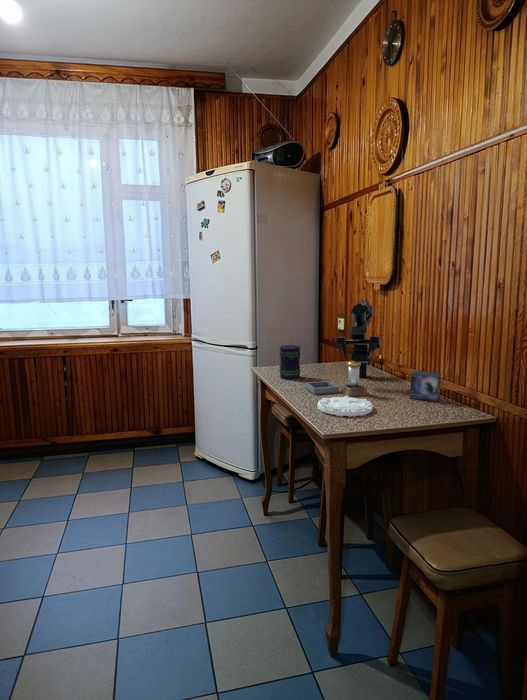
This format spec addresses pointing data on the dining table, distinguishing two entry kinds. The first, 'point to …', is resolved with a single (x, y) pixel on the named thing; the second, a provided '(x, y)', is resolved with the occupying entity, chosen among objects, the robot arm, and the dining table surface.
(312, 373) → the dining table surface
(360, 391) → the socket block
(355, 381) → the pin
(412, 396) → the small box
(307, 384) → the tray
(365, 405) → the giant coin
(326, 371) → the dining table surface
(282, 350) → the storage jar
